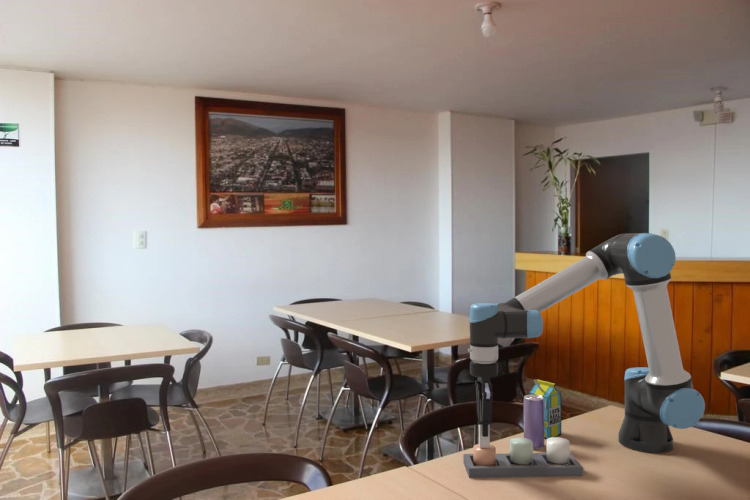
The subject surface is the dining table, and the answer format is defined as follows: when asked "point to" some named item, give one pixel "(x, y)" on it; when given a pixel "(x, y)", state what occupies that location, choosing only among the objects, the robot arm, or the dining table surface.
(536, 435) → the beverage can
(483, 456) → the terracotta button
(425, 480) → the dining table surface
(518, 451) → the sage button
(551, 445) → the ivory button
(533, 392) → the carton
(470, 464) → the dark grey flat tray
